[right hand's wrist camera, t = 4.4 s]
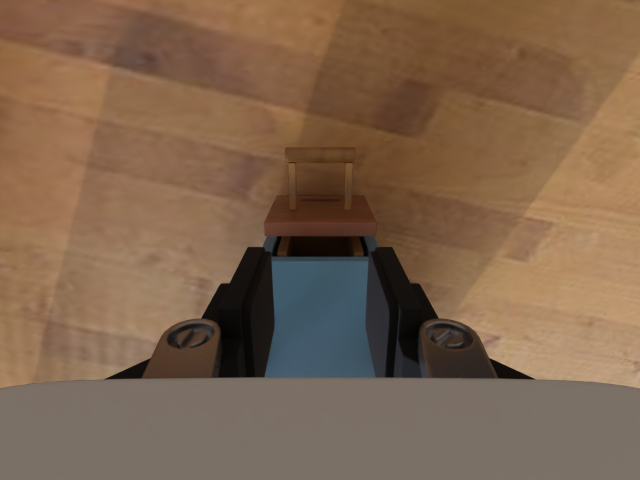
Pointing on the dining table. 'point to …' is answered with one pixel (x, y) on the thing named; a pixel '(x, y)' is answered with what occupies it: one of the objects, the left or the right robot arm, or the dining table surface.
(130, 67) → the dining table surface
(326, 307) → the light blue box
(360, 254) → the drawer
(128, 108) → the dining table surface
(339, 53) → the dining table surface
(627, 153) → the dining table surface
